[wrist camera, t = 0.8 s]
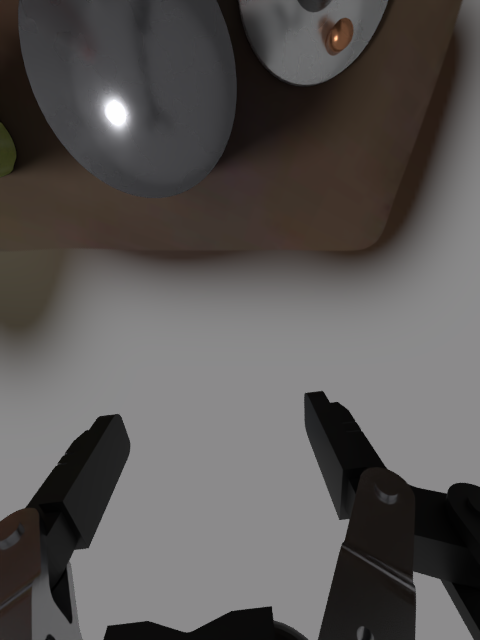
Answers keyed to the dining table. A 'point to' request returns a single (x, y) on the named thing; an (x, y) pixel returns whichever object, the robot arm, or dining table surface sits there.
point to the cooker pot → (134, 87)
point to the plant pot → (6, 152)
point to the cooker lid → (309, 35)
